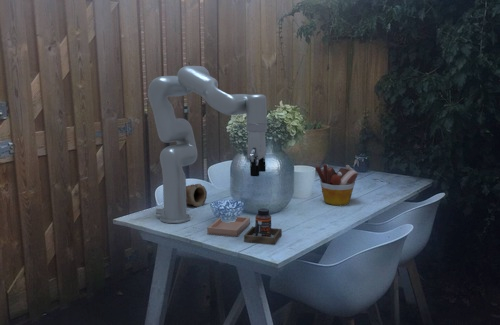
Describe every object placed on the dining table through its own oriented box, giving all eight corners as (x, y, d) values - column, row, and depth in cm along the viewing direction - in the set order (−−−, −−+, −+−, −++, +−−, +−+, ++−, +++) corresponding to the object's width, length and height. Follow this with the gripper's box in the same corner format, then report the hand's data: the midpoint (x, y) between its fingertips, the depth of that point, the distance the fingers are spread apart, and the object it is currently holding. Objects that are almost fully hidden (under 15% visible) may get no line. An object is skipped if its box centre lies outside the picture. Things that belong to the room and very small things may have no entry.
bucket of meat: (337, 196, 262) (338, 157, 258) (363, 203, 249) (364, 162, 245) (308, 202, 250) (309, 161, 246) (334, 209, 237) (335, 166, 233)
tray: (237, 236, 199) (236, 230, 198) (207, 234, 202) (207, 227, 202) (250, 223, 216) (250, 217, 215) (222, 221, 219) (222, 215, 219)
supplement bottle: (261, 242, 193) (261, 212, 191) (252, 238, 198) (252, 209, 196) (274, 239, 196) (274, 209, 194) (264, 235, 201) (264, 206, 199)
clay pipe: (174, 215, 242) (203, 207, 238) (167, 193, 241) (196, 185, 236) (188, 204, 260) (216, 196, 256) (181, 183, 258) (209, 176, 254)
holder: (243, 241, 193) (243, 235, 193) (252, 232, 204) (252, 226, 204) (274, 244, 190) (274, 238, 190) (281, 235, 201) (281, 228, 201)
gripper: (253, 126, 202) (254, 169, 205) (240, 130, 186) (242, 177, 189) (272, 125, 200) (273, 169, 203) (261, 130, 184) (262, 178, 187)
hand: (258, 173), depth 196 cm, fingers open, 9 cm apart
